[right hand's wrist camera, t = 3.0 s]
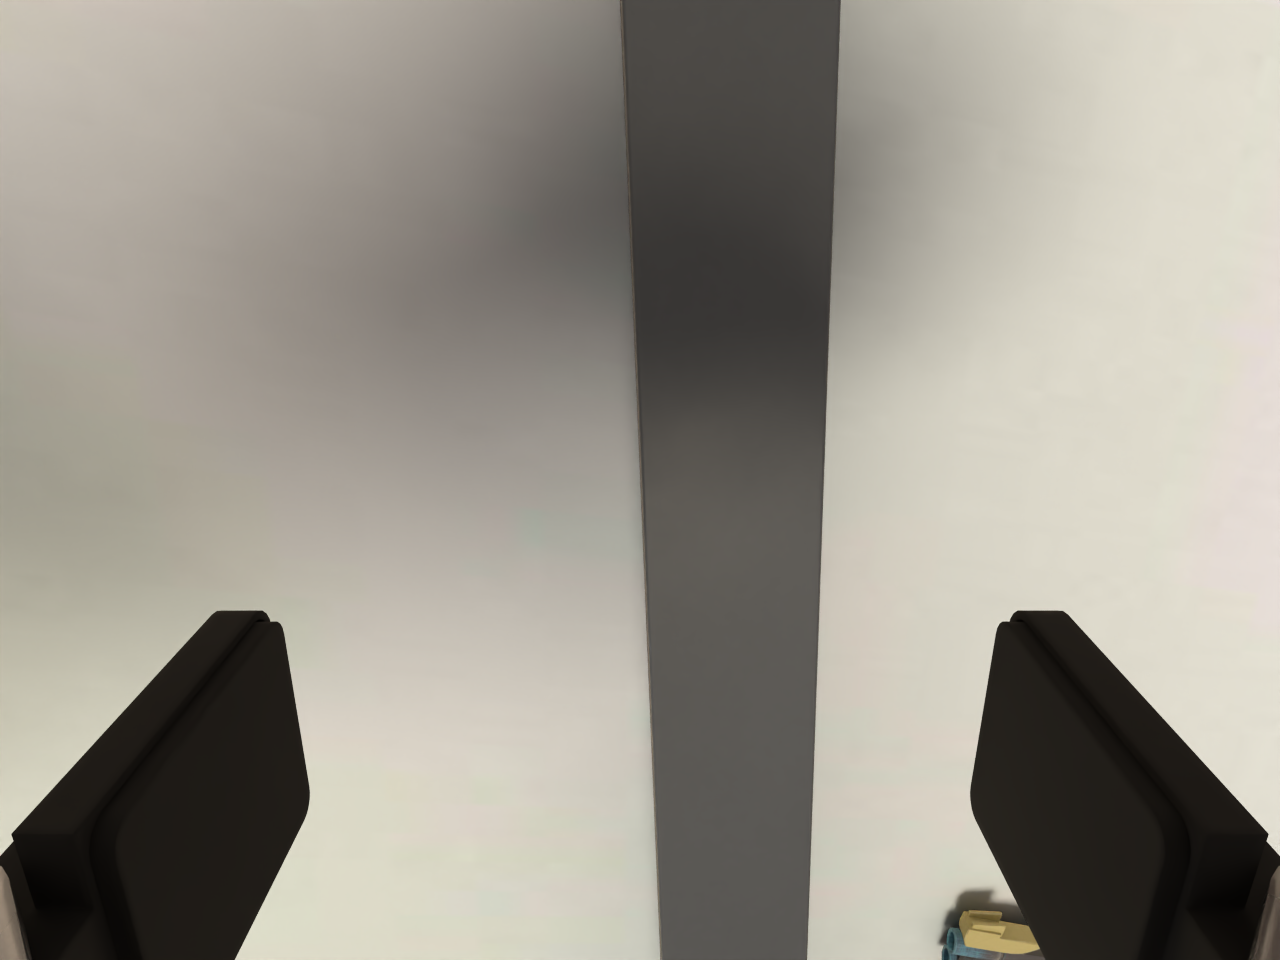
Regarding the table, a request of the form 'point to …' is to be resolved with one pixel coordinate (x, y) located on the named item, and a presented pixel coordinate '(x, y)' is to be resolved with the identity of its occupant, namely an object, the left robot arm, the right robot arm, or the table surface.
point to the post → (731, 447)
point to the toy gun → (990, 939)
